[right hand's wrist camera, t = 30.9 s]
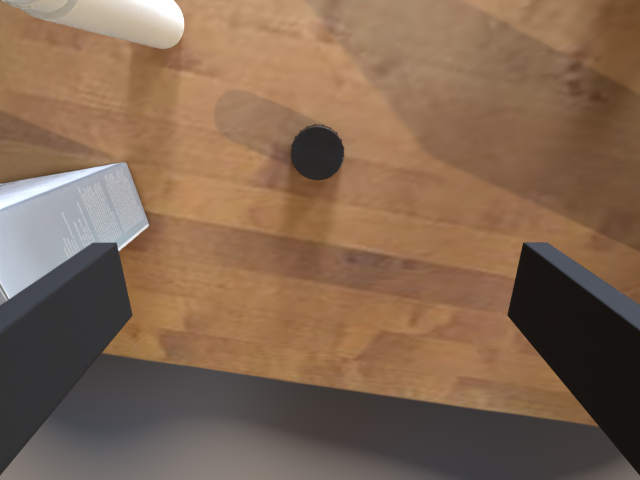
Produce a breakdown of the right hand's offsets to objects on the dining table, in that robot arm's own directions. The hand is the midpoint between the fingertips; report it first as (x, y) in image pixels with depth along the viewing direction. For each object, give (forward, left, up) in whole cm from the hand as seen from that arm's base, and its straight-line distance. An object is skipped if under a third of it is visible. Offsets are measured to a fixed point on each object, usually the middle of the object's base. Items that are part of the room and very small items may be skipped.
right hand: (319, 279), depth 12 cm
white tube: (-3, -18, -29) cm, 34 cm away
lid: (0, 0, -27) cm, 27 cm away
